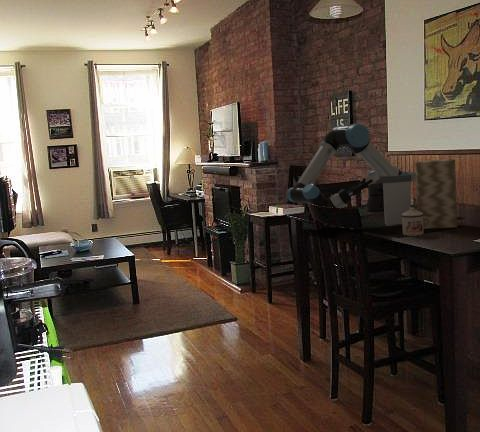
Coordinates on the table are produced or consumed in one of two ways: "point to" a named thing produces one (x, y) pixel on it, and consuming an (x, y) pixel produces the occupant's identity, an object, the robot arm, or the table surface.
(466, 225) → the table surface
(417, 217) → the teacup with lid
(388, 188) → the block
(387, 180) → the brown bar
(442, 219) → the wood grain block
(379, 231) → the table surface
